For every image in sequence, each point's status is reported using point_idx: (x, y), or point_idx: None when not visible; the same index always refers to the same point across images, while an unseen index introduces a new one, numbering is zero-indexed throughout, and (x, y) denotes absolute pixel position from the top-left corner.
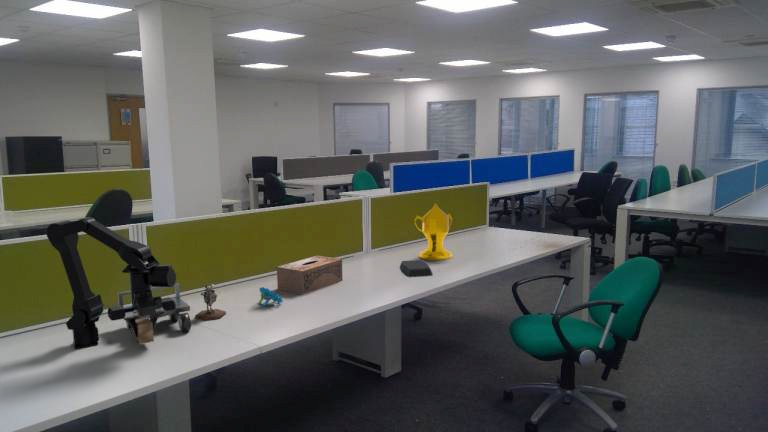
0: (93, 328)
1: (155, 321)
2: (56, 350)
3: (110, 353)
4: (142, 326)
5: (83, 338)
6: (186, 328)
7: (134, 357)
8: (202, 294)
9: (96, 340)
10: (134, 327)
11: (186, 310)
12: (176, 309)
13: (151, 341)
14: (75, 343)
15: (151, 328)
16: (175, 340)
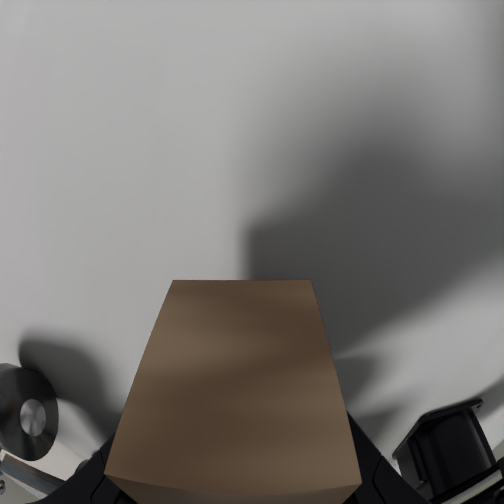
0: (439, 479)
1: (89, 473)
2: (501, 401)
3: (455, 303)
4: (289, 457)
5: (470, 435)
6: (10, 369)
7: (386, 113)
8: (1, 487)
9: (418, 436)
10: (366, 462)
11: (15, 461)
12: (44, 489)
13: (194, 280)
14: (477, 420)
15: (148, 396)
16: (50, 294)
